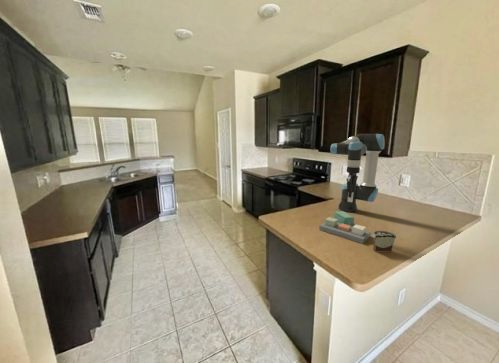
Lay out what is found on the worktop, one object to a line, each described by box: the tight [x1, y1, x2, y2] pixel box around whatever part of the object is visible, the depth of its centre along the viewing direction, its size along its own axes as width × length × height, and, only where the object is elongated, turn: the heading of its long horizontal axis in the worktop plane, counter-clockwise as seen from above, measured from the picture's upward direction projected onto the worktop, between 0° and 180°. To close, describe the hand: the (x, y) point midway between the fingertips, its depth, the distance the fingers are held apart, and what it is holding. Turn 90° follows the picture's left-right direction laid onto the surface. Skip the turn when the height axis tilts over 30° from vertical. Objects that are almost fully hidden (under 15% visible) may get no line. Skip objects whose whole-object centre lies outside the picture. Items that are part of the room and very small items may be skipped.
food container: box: [372, 230, 397, 253], centre depth 125 cm, size 12×6×10 cm, turn 92°
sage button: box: [324, 216, 338, 227], centre depth 151 cm, size 6×6×4 cm
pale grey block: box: [352, 224, 367, 236], centre depth 138 cm, size 6×6×4 cm
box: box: [333, 210, 355, 227], centre depth 161 cm, size 7×14×8 cm, turn 11°
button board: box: [318, 222, 372, 245], centre depth 145 cm, size 14×28×3 cm, turn 45°
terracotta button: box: [338, 223, 351, 232], centre depth 145 cm, size 6×6×4 cm
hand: (350, 201), depth 145 cm, fingers closed
